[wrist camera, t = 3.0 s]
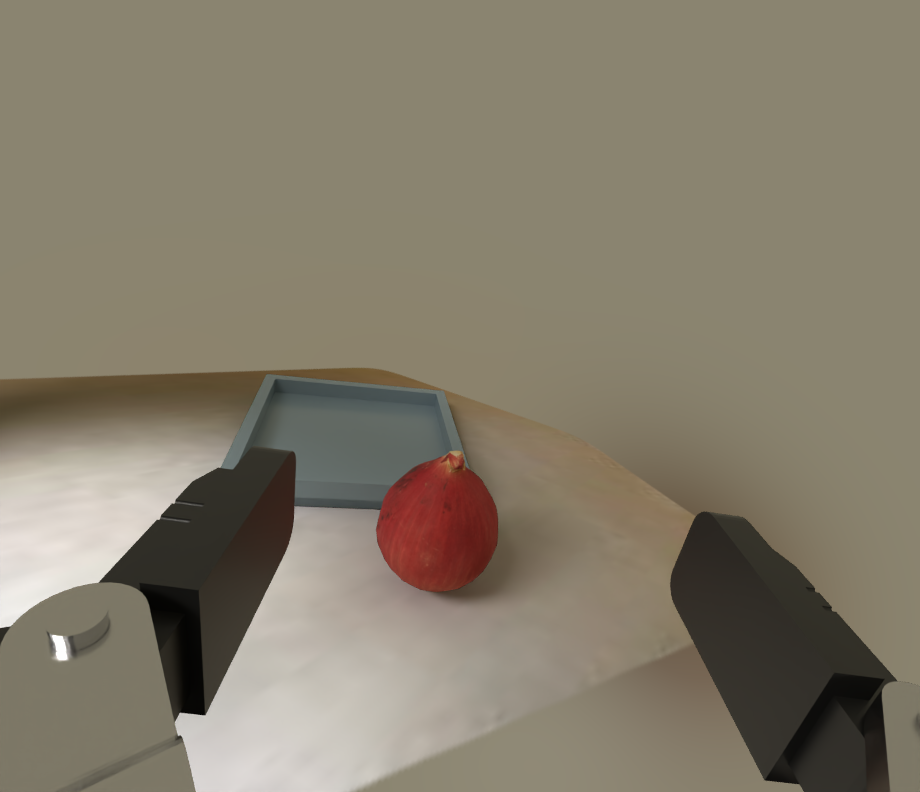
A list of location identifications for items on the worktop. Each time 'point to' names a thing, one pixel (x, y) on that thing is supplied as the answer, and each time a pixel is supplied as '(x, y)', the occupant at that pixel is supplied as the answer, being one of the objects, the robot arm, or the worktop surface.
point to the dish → (346, 436)
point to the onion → (438, 525)
